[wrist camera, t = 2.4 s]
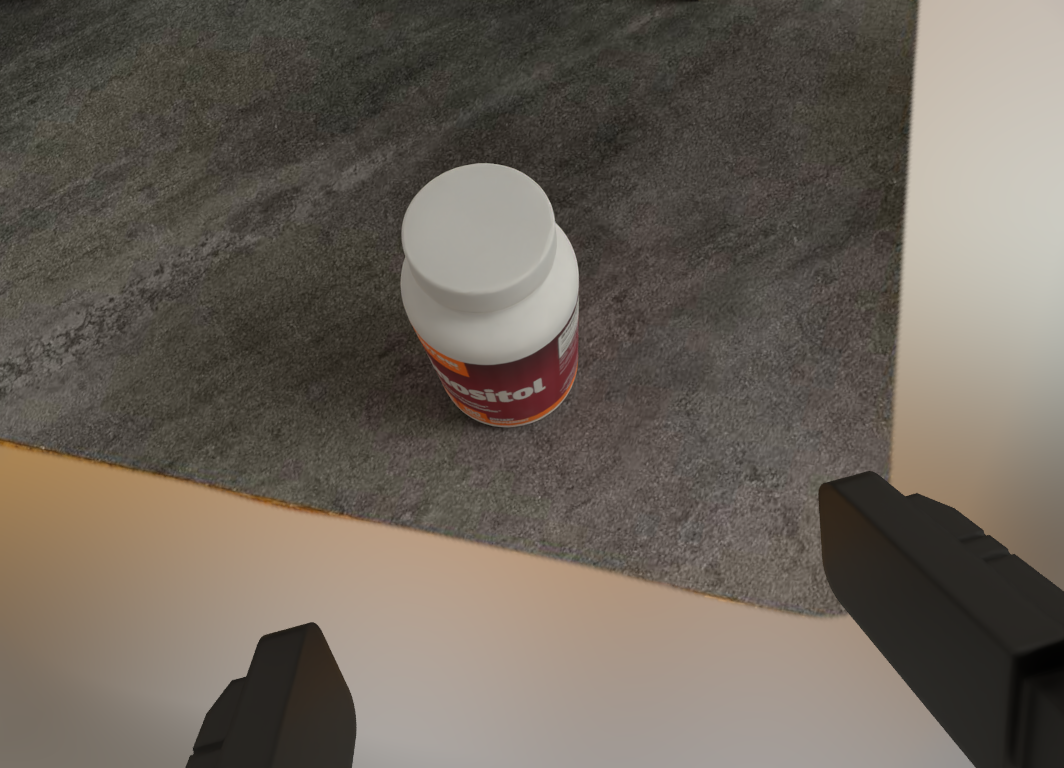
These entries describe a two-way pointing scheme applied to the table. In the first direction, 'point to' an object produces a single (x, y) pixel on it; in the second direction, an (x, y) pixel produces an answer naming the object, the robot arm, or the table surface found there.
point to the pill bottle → (492, 292)
